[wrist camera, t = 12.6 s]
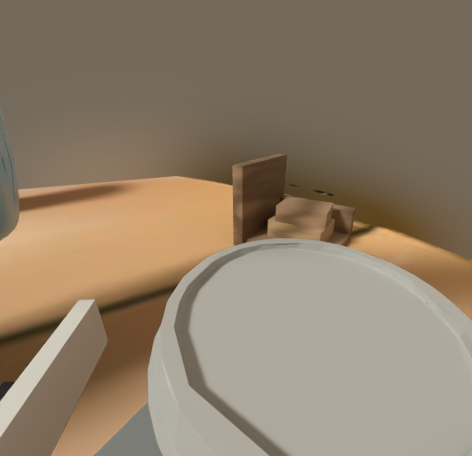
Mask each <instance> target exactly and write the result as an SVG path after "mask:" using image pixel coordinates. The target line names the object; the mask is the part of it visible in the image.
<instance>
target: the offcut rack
mask: <svg viewBox="0 0 472 456" xmlns="http://www.w3.org/2000/svg"><path fill="white" fill-rule="evenodd" d="M286 159H287V155H285V154H276V155H272V156H268V157H264V158H260V159H256V160H252V161H248V162H243V163H240V164H236V165H233V227H234V245H235V246H236V245H240V244H243V243H246V242H252V241H258V240H265V239H277V238H275V237H272V236H268V235H267V231H268V219H270V218H271V217H273V216H275V215H276V206H277V205H278V204H279V203H280V202H281V201H283V200H284V199H285V198H286V197H293V196H287V195H284V185H285V172H286ZM294 198H298V197H294ZM301 199H303V198H301ZM308 200H309V199H308ZM355 212H356V208H351V207H346V206H341V205H335V204H333V210H332V216H331V218H332V219H335V223H334V229H333V235H332V236H331V237H330V238H329V239H328V240H327V242H328V243H333V244H338V245H342V246H345V244H346V243H347V242H348V240H349V239H350V236H351V232H352V227H353V222H354V216H355Z"/></svg>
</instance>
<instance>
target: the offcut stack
mask: <svg viewBox="0 0 472 456" xmlns="http://www.w3.org/2000/svg"><path fill="white" fill-rule="evenodd" d="M333 204H334V203H329V202H322V201H315V200H308V199H301V198H294V197H286V198H285V199H284V200H283V201H281V202H280V203H279V204H278V205H277V206H276V215H275V216H273V217H271V218H270V219H268V231H267V235H268V236H272V237H275V238H291V239H306V240H318V241H323V242H327V240H328V239H329V238H330V237H331V236H332V235H333V229H334V223H335V219H332V218H331V216H332V210H333Z"/></svg>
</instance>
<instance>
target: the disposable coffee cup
mask: <svg viewBox="0 0 472 456" xmlns="http://www.w3.org/2000/svg"><path fill="white" fill-rule="evenodd" d="M148 406H149V410H150V415H151V419H152V424H153V428H154V432H155V436H156V440H157V444H158V446H159V448H160V450H161V453H162V455H163V456H472V320H471V319H470V318H469V317H468V316H467V315H466V314H464V313H463V312H462V311H461V310H460V309H459V308H458V307H457V306H456V305H455V304H454V303H453V302H451V301H450V300H449V299H448V298H446V297H445V296H444V295H443V294H441V293H440V292H439V291H438V290H436V289H435V288H434V287H432V286H430V285H429V284H427V283H426V282H424V281H423V280H421V279H420V278H418V277H417V276H415V275H413V274H411V273H409V272H408V271H406V270H404V269H402V268H400V267H398V266H396V265H394V264H393V263H390V262H387V261H385V260H382V259H380V258H377V257H375V256H372V255H370V254H367V253H365V252H362V251H359V250H357V249H353V248H350V247H346V246H342V245H338V244H333V243H328V242H323V241H318V240H306V239H291V238H277V239H265V240H258V241H252V242H246V243H243V244H240V245H236V246H233V247H229V248H226V249H224V250H222V251H220V252H218V253H216V254H214V255H212V256H210V257H208V258H206V259H204V260H203V261H202V262H200V263H199V264H198V265H197V266H196V267H194V268H193V269H192V270H191V271H190V272H188V273H187V274H186V275H185V276H184V277H183V278H182V280H181V281H180V283H179V284H178V286H177V287H176V289H175V290H174V292H173V293H172V295H171V296H170V298H169V299H168V301H167V304H166V308H165V312H164V316H163V319H162V323H161V326H160V328H159V330H158V332H157V334H156V336H155V338H154V342H153V347H152V352H151V357H150V361H149V366H148Z"/></svg>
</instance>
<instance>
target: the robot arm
mask: <svg viewBox="0 0 472 456" xmlns="http://www.w3.org/2000/svg"><path fill="white" fill-rule="evenodd" d="M18 220H19V194H18V187H17V179H16V174H15V168H14V162H13V157H12V152H11V147H10V142H9V138H8V133H7V129H6V125H5V120H4V116H3V112H2V109H1V105H0V241H1V240H2V239H3V238H5V237H6V236H8V235H9V234H10V233H11V232H12V231H13V230H14V229H15V227H16V225H17V223H18ZM107 343H108V339H107V335H106V332H105V329H104V326H103V323H102V319H101V316H100V313H99V310H98V306H97V303H96V300H95V299H93V300H78V302H77V303H76V304H75V306H74V307H73V308H72V309H71V311H70V312H69V313H68V315H67V316H66V317H65V318H64V320H63V321H62V322H61V324H60V325H59V326H58V327H57V329H56V330H55V331H54V333H53V334H52V335H51V337H50V338H49V339H48V340H47V342H46V343H45V344H44V346H43V347H42V348H41V349H40V351H39V352H38V353H37V355H36V356H35V357H34V358H33V360H32V361H31V362H30V364H29V365H28V366H27V367H26V369H25V370H24V371H23V373H22V374H21V375H20V376H19V378H18V379H17V380H16V382H4V383H3V384H2V385H1V386H0V456H51V454H52V452H53V450H54V448H55V446H56V444H57V442H58V440H59V438H60V436H61V434H62V432H63V430H64V428H65V426H66V424H67V422H68V420H69V418H70V416H71V414H72V412H73V410H74V408H75V406H76V404H77V402H78V400H79V398H80V396H81V394H82V392H83V390H84V388H85V386H86V384H87V382H88V380H89V379H90V377H91V375H92V373H93V371H94V369H95V367H96V365H97V363H98V361H99V359H100V357H101V355H102V353H103V351H104V349H105V347H106V345H107Z"/></svg>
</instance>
